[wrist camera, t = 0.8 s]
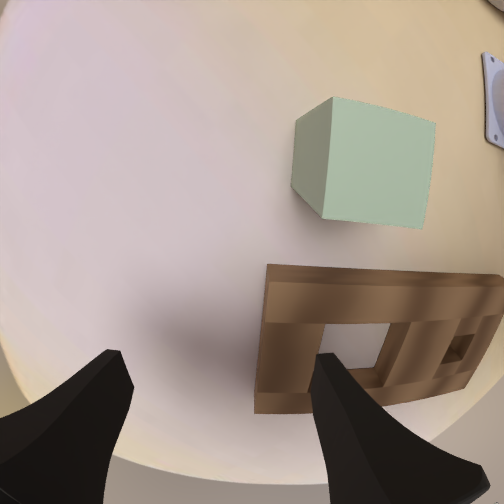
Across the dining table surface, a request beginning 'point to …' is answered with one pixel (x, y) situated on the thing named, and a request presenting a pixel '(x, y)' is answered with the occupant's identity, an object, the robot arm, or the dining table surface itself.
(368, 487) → the robot arm
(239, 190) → the dining table surface
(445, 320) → the socket board
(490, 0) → the ramekin
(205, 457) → the dining table surface
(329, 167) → the peg
